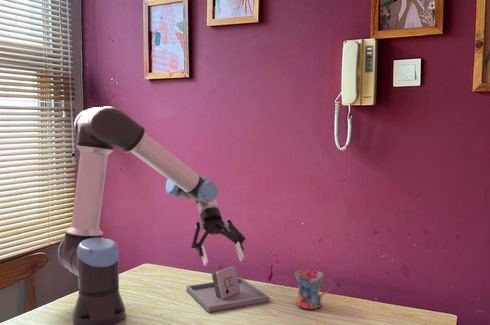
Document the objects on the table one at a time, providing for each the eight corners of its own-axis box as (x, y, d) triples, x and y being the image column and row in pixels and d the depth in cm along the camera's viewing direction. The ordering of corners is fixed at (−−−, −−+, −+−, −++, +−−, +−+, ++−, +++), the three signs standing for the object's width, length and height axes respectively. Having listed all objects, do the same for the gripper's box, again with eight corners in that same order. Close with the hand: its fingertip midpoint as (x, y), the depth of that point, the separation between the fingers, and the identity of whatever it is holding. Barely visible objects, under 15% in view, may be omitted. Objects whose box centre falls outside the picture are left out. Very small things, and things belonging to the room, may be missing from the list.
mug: (293, 310, 143) (293, 277, 143) (295, 300, 153) (295, 269, 152) (331, 313, 141) (332, 280, 140) (331, 302, 150) (332, 271, 150)
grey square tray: (208, 313, 141) (208, 307, 141) (186, 291, 160) (186, 285, 160) (269, 302, 150) (269, 296, 150) (241, 282, 170) (241, 277, 169)
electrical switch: (223, 300, 150) (221, 272, 150) (211, 298, 153) (209, 271, 153) (240, 292, 157) (238, 266, 157) (229, 291, 161) (227, 265, 161)
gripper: (236, 215, 178) (253, 263, 165) (175, 220, 167) (188, 271, 155) (242, 204, 173) (260, 252, 160) (179, 208, 162) (193, 260, 150)
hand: (224, 261), depth 157 cm, fingers open, 13 cm apart
